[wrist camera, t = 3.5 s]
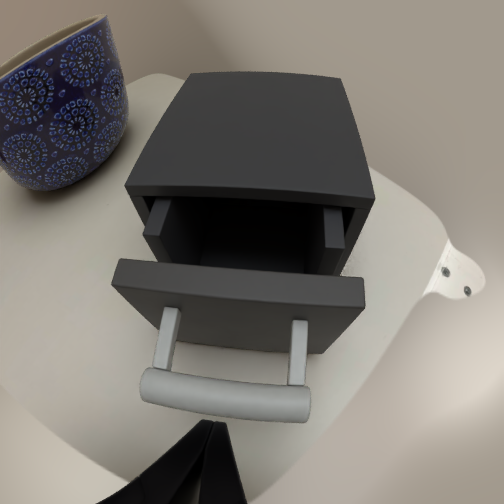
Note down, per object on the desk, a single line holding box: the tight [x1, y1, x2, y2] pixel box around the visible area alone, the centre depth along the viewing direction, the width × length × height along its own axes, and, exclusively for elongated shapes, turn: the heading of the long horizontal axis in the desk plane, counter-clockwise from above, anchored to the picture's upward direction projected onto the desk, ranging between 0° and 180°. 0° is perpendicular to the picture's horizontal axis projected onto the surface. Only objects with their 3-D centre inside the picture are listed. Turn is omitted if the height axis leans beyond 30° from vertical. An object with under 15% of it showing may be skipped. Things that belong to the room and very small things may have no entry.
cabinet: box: [125, 72, 375, 276], centre depth 18 cm, size 11×10×9 cm
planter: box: [0, 15, 129, 191], centre depth 22 cm, size 17×17×15 cm
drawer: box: [111, 196, 365, 423], centre depth 14 cm, size 14×9×8 cm, turn 174°
